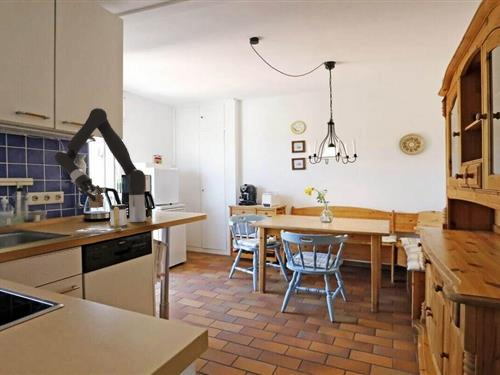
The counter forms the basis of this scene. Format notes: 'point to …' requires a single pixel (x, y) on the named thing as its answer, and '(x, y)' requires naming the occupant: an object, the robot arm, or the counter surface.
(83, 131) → the robot arm
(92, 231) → the drilled plate
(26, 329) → the counter surface
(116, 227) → the brass post
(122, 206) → the jar
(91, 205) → the walnut block
